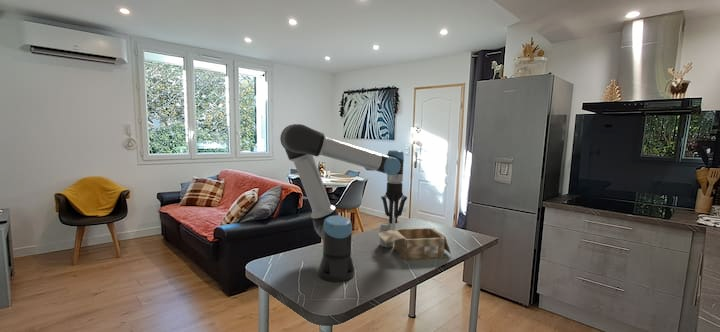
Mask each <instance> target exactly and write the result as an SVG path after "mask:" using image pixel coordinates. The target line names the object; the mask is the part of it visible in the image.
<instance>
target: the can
mask: <svg viewBox="0 0 720 332" xmlns="http://www.w3.org/2000/svg"><path fill="white" fill-rule="evenodd" d="M390 227H391V224H390V223H389V221H388V222H387V221H386V222H381V225H380V226H379V233H381V232H385V231H389V230H391V229H390ZM394 242H395V241H393V242H390V243H385V242H384V241H383V240H382V239H381V237H380V236H379V245H380V247H382V248H392V247H393V246H394Z"/></svg>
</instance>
